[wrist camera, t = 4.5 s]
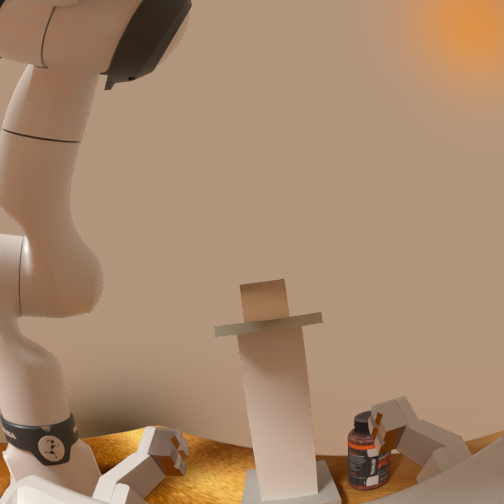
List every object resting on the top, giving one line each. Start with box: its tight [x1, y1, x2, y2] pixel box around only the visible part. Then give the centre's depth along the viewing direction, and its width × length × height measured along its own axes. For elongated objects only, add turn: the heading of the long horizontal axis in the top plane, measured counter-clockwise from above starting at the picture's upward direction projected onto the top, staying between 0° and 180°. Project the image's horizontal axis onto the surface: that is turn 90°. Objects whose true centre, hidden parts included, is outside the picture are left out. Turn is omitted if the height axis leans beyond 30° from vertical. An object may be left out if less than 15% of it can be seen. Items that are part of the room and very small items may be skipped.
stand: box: [214, 312, 341, 504], centre depth 29 cm, size 14×12×26 cm
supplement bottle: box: [348, 411, 391, 490], centre depth 27 cm, size 6×6×11 cm
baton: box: [240, 279, 289, 323], centre depth 28 cm, size 22×3×2 cm, turn 176°
